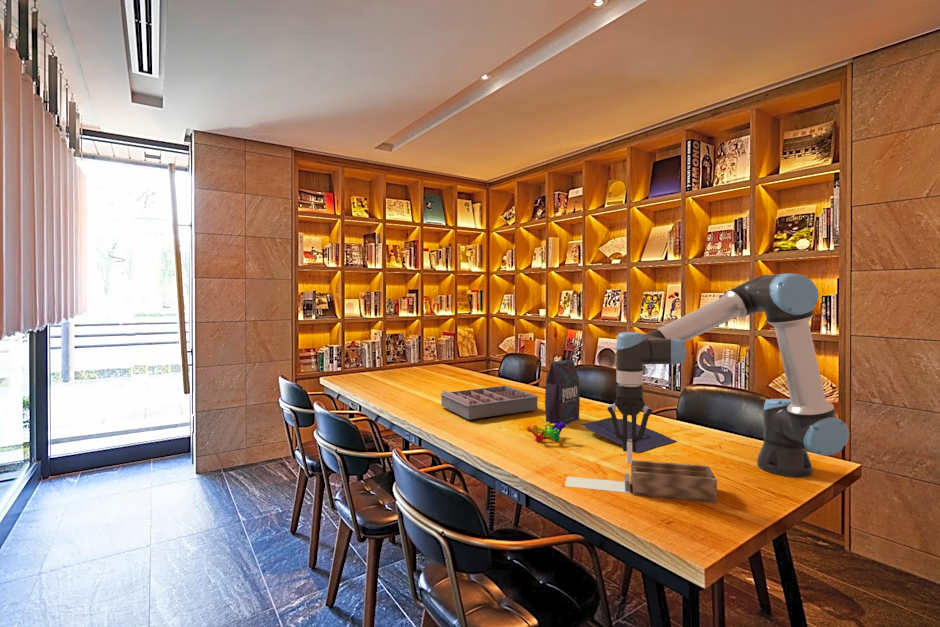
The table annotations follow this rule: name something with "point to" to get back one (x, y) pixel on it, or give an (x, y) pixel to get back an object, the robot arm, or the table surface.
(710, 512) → the table surface
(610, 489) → the lid
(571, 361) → the black coffee bag
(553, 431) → the decorative model
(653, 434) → the dark blue flat slab
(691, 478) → the box
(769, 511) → the table surface
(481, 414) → the organizer tray
